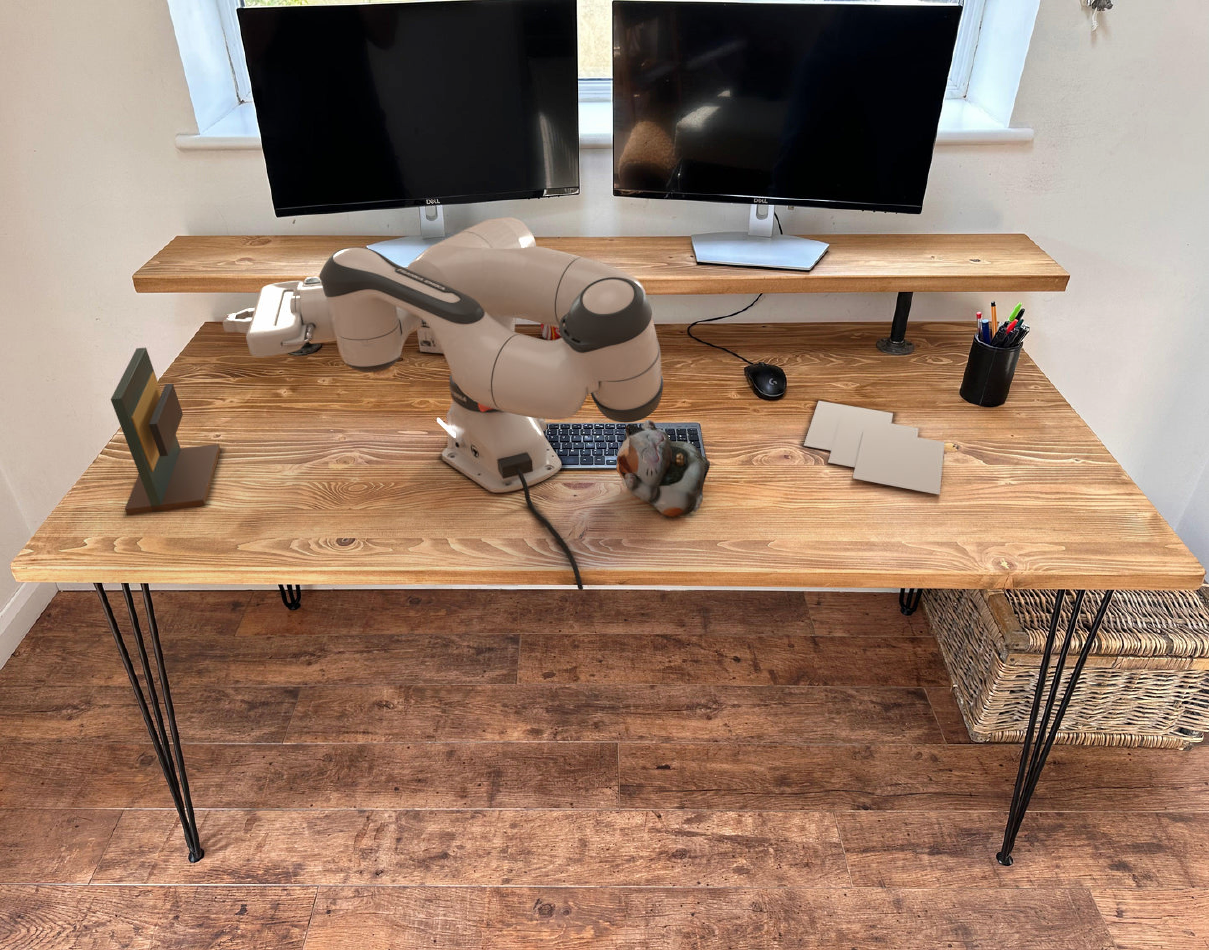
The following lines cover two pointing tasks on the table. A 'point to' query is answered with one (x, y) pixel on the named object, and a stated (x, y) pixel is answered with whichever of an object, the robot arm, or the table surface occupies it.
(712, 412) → the table surface
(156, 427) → the switch button
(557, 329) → the soda can
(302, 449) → the table surface
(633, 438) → the lucky cat figurine
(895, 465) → the paper stack
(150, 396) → the switch stand
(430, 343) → the light bulb box
